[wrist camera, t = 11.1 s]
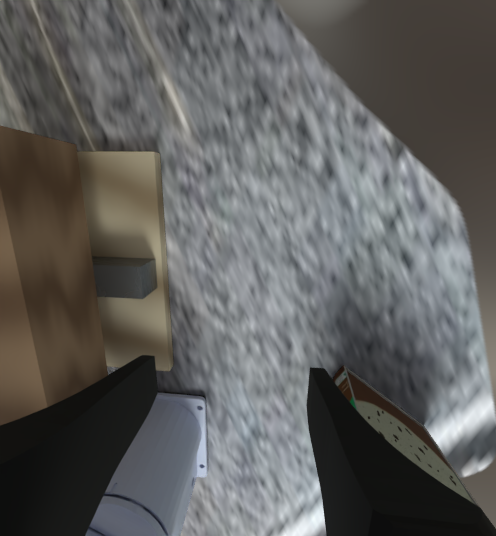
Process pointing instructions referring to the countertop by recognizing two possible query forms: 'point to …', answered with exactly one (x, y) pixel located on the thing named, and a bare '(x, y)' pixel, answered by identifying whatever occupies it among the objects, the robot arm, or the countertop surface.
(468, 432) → the countertop surface
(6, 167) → the walnut bar
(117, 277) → the balance stand
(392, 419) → the food container
